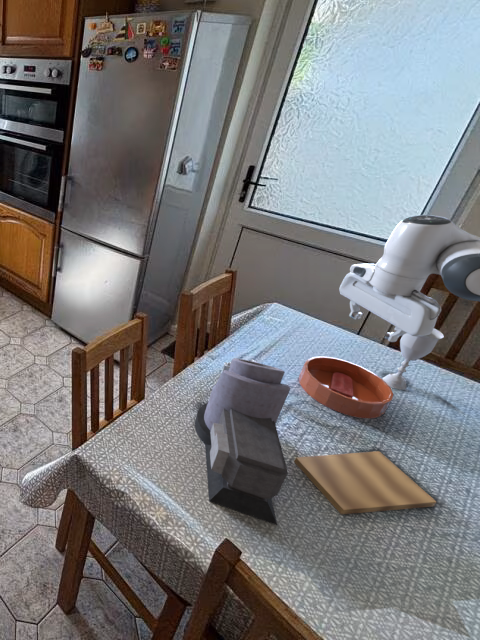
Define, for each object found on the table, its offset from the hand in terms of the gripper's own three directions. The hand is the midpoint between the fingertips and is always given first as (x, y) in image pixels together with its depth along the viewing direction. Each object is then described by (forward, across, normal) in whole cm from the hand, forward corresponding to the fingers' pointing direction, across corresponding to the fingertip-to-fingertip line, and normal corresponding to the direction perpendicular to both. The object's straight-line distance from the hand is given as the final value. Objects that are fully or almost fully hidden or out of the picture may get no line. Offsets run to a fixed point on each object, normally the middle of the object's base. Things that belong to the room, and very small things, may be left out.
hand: (371, 328), depth 103 cm
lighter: (+21, +6, +26) cm, 34 cm away
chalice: (+20, +1, -17) cm, 27 cm away
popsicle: (+20, -1, +1) cm, 20 cm away
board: (+20, -26, +20) cm, 39 cm away
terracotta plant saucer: (+20, -1, +1) cm, 20 cm away
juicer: (+21, -17, +42) cm, 50 cm away
